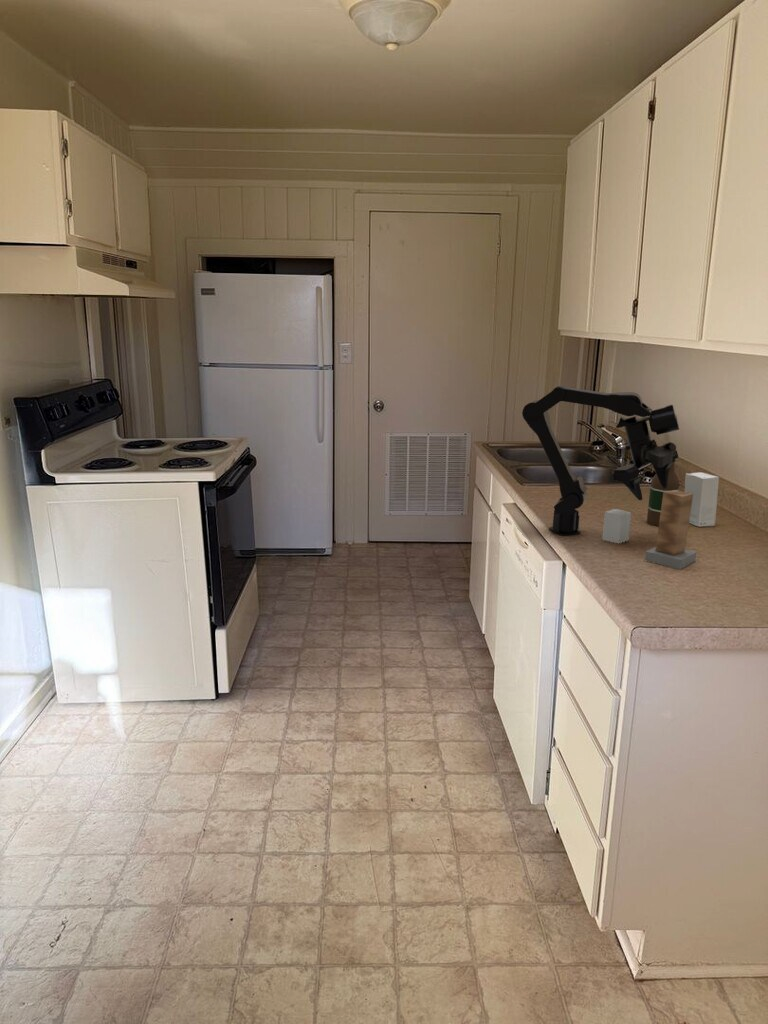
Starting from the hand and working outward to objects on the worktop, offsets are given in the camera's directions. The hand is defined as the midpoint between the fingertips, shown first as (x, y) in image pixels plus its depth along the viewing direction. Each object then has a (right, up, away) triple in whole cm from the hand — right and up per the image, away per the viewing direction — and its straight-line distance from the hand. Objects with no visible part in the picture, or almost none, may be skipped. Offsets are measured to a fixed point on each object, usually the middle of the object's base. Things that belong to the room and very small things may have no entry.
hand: (652, 494), depth 191 cm
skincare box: (+21, -8, +20) cm, 30 cm away
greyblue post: (-9, -13, +4) cm, 16 cm away
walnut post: (-1, -15, -13) cm, 20 cm away
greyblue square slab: (-1, -18, -13) cm, 22 cm away
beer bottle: (+10, -9, +19) cm, 23 cm away
